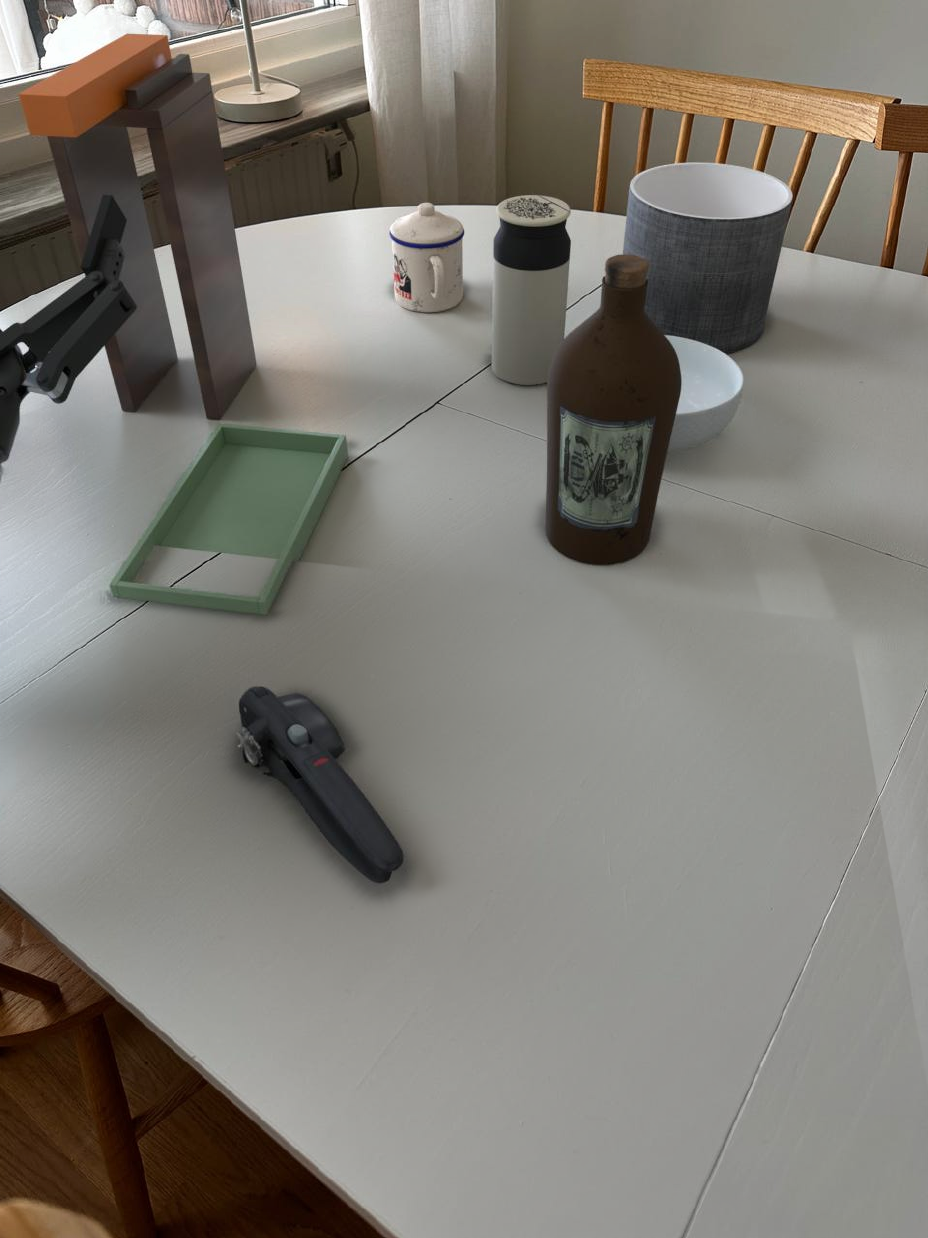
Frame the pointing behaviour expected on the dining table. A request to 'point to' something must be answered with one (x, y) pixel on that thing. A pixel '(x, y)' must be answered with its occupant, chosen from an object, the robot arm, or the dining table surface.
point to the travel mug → (529, 287)
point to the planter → (708, 248)
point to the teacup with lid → (427, 260)
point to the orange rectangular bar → (92, 86)
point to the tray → (241, 508)
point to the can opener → (316, 776)
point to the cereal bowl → (703, 393)
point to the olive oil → (609, 423)
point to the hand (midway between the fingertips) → (33, 201)
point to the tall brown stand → (195, 227)
